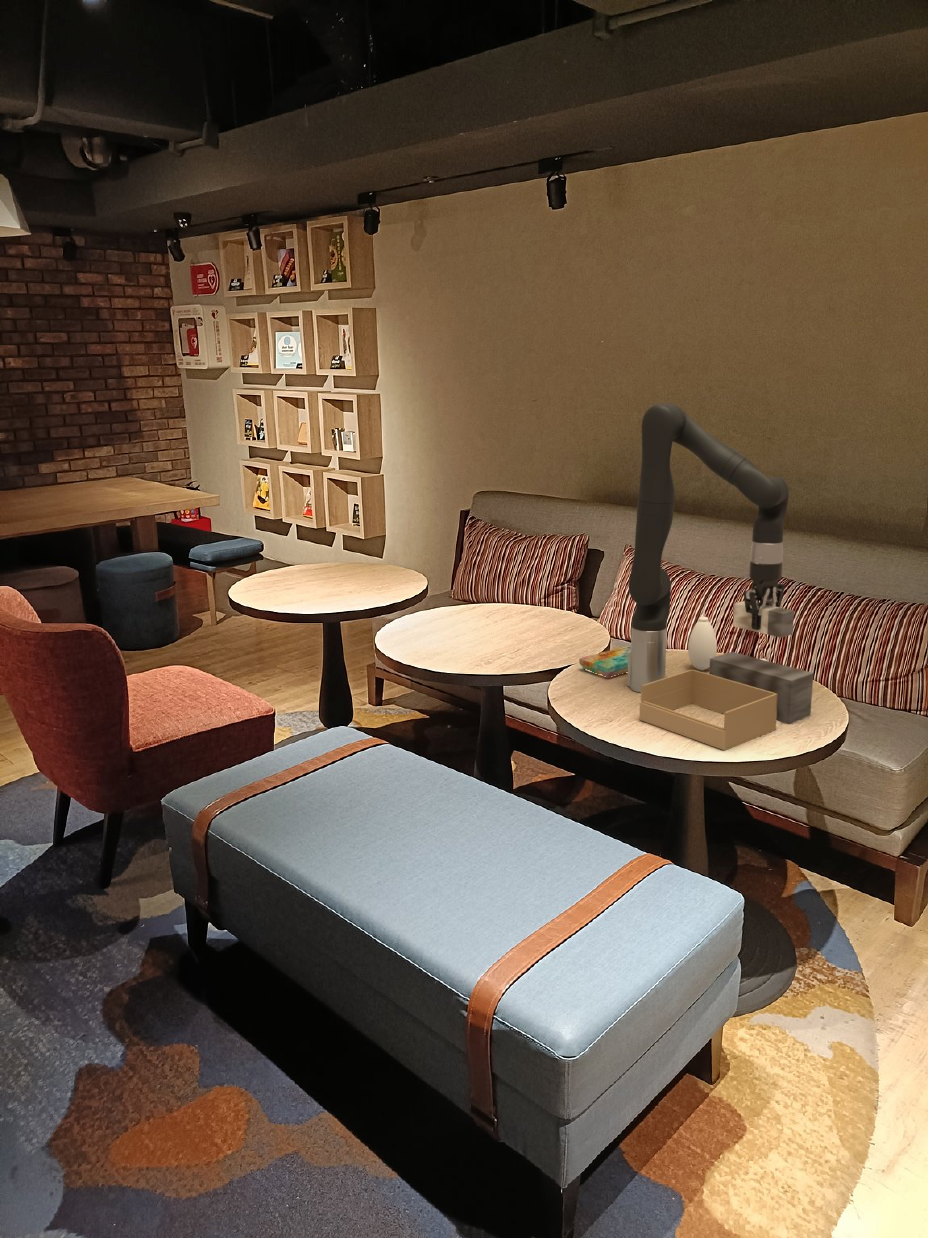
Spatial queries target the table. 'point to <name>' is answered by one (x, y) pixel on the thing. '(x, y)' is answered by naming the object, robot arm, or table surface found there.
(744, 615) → the block
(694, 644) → the sauce bottle
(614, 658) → the puzzle game
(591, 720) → the table surface
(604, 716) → the table surface
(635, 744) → the table surface
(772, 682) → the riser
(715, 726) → the carton
